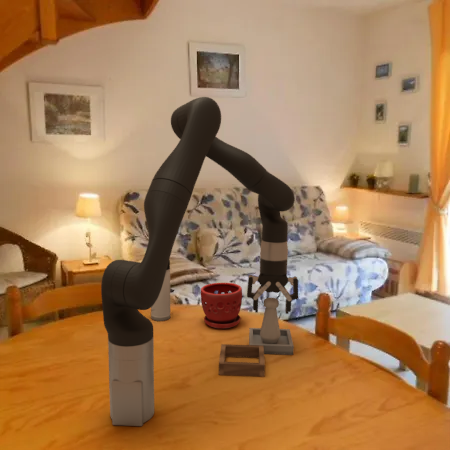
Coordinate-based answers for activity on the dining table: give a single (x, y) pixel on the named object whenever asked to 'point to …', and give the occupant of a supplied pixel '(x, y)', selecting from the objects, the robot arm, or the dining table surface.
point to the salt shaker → (270, 322)
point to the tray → (280, 348)
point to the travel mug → (163, 300)
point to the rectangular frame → (242, 367)
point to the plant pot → (221, 304)
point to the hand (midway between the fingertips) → (271, 312)
